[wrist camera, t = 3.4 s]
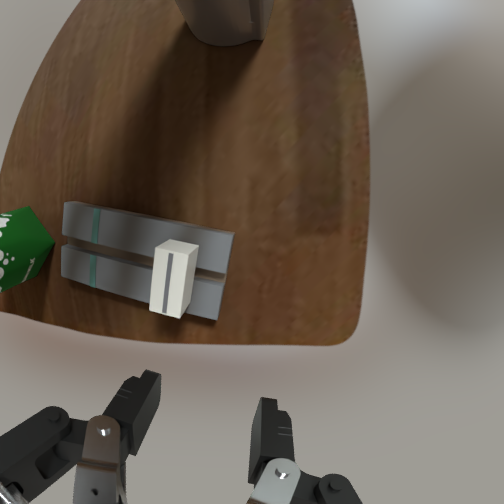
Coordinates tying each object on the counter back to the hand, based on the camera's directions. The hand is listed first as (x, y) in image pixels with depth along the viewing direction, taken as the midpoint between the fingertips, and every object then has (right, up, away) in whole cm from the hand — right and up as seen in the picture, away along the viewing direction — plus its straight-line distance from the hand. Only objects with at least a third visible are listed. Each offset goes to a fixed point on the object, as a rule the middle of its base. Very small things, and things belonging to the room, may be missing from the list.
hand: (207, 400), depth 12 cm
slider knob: (-5, +5, +18) cm, 19 cm away
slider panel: (-10, +7, +19) cm, 22 cm away
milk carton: (-28, +8, +19) cm, 35 cm away
